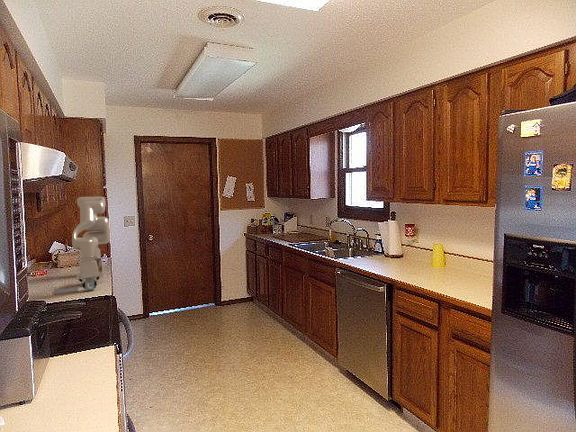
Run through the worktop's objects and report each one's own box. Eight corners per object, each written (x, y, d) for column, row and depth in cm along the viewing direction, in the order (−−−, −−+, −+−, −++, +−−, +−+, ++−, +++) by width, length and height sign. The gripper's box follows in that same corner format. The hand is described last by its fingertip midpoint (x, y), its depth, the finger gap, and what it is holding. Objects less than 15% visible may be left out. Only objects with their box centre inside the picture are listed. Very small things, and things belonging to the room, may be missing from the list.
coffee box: (94, 281, 261) (93, 258, 259) (103, 281, 259) (101, 258, 258) (85, 285, 252) (83, 260, 250) (93, 285, 251) (92, 261, 249)
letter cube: (85, 288, 240) (84, 280, 239) (94, 287, 242) (93, 279, 242) (85, 290, 235) (84, 282, 235) (94, 289, 238) (94, 281, 237)
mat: (54, 289, 242) (54, 289, 242) (78, 286, 248) (78, 286, 248) (53, 294, 231) (53, 294, 231) (78, 291, 237) (78, 291, 237)
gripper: (102, 256, 244) (104, 284, 246) (72, 259, 236) (74, 288, 238) (103, 258, 238) (105, 287, 239) (72, 261, 230) (74, 291, 231)
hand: (89, 287), depth 239 cm, fingers closed on letter cube, 5 cm apart
